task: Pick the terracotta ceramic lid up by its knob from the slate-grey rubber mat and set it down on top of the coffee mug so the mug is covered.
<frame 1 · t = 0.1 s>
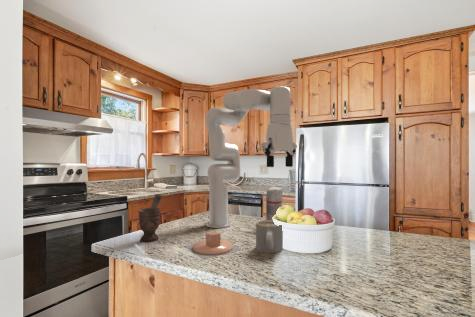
hand: (279, 166, 97), 31 cm above the countertop, tool pointing down, fingers open, 9 cm apart
spray can: (274, 227, 132), on the countertop
coffee mug: (268, 251, 96), on the countertop
mat: (213, 249, 98), on the countertop
lid: (213, 247, 98), point 1 cm above the countertop, touching mat
mortar and pestle: (152, 242, 107), on the countertop
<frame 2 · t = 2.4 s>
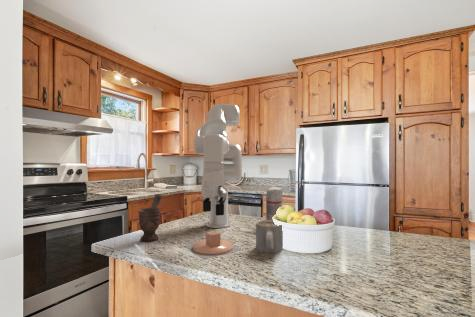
hand: (213, 213, 97), 14 cm above the countertop, tool pointing down, fingers open, 9 cm apart
nothing on the countertop moved.
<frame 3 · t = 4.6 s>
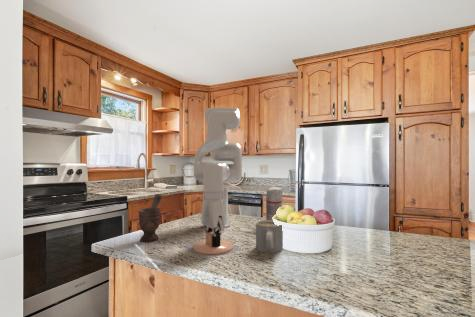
hand: (213, 244, 98), 2 cm above the countertop, tool pointing down, fingers closed on lid, 4 cm apart
lid: (213, 247, 98), point 1 cm above the countertop, touching gripper, mat
everything else where it was.
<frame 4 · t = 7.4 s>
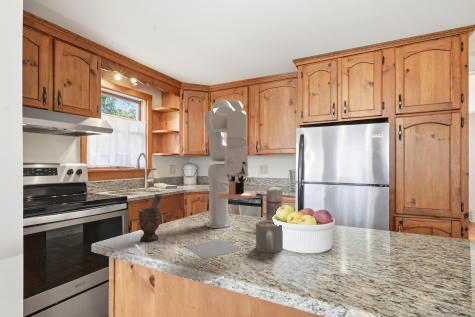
hand: (236, 192, 97), 21 cm above the countertop, tool pointing down, fingers closed on lid, 4 cm apart
lid: (236, 196, 97), point 20 cm above the countertop, touching gripper
everything else where it was.
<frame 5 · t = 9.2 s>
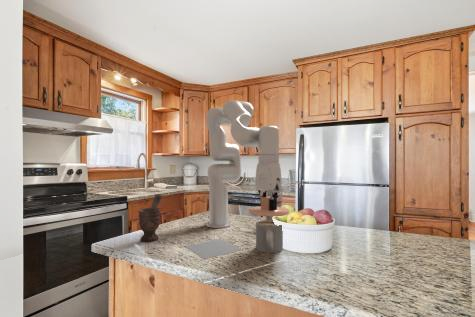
hand: (268, 208, 96), 16 cm above the countertop, tool pointing down, fingers closed on lid, 4 cm apart
lid: (268, 212, 96), point 14 cm above the countertop, touching gripper
everything else where it was.
when the fingers open (13 cm above the countertop, at t = 10.4 s): lid drops 1 cm, resting on coffee mug.
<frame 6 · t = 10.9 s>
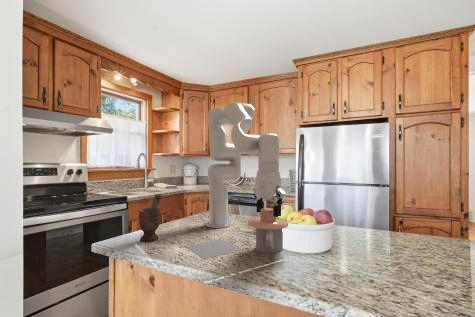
hand: (268, 213, 96), 14 cm above the countertop, tool pointing down, fingers open, 9 cm apart
coffee mug: (268, 251, 96), on the countertop, touching lid
lid: (268, 224, 96), point 10 cm above the countertop, touching coffee mug
everything else where it was.
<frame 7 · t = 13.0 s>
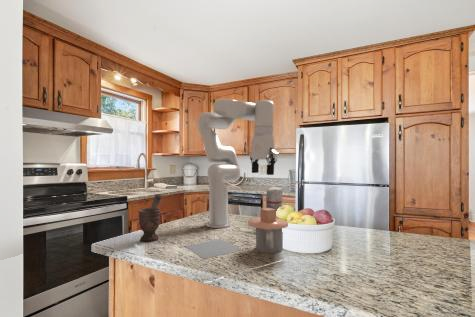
hand: (262, 173, 106), 28 cm above the countertop, tool pointing down, fingers open, 9 cm apart
nothing on the countertop moved.
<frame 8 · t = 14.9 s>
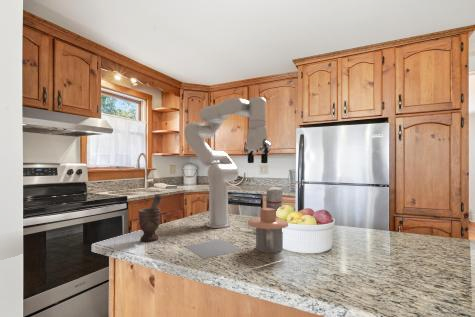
hand: (257, 163, 118), 32 cm above the countertop, tool pointing down, fingers open, 9 cm apart
nothing on the countertop moved.
at the end: lid 0.3 cm from the coffee mug (horizontally); lid point 10.0 cm above the countertop; lid tilted 0° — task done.
